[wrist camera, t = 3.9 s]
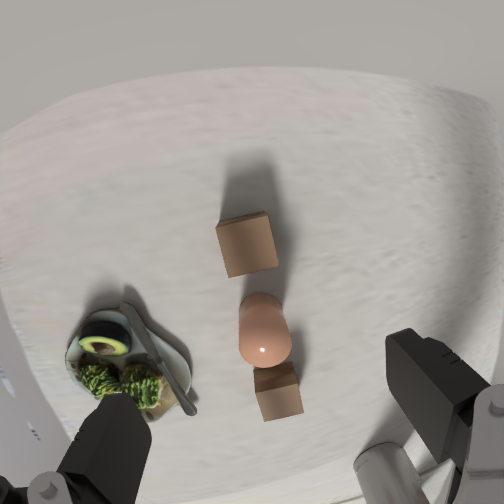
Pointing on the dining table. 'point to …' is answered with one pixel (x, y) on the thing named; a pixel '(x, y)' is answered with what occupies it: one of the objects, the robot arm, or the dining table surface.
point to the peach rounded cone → (263, 331)
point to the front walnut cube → (247, 244)
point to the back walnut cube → (277, 391)
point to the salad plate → (129, 363)
